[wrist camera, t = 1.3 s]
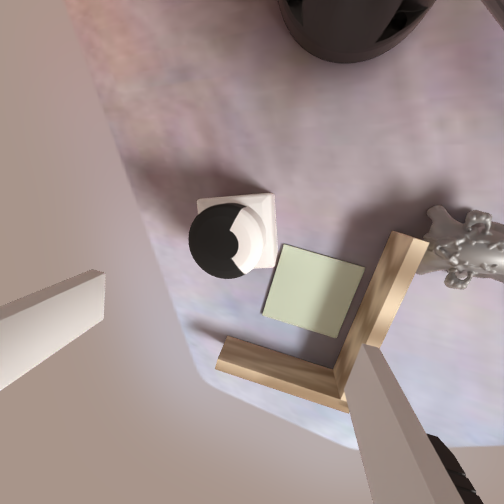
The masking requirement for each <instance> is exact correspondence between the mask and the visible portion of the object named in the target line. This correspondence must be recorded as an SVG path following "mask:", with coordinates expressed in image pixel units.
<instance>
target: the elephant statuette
mask: <svg viewBox="0 0 504 504" xmlns="http://www.w3.org/2000/svg"><path fill="white" fill-rule="evenodd" d="M427 216H428V217H429V218H431V220H432V223H433V224H432V225H431V227H430V231H429V232H428V233H427V234H425V235H424V236H423V239H424V240H426V241H427V242H429V245H428V247H427V250H426V252H425V254H424V256H423V258H422V260H421V262H420V264H419V266H418V268H417V271H416V274H419V275H423V274H426V273H430V272H434V271H440V270H447V272H449V274H448V275H447V276H446V278H445V281H444V283H445V285H446V286H447V287H449V288H453V289H465V288H467V285H468V284H469V283H470V281H471V279H472V277H477V278H492V279H494V280H497V281H500V282H503V283H504V225H503V224H500V223H496V222H492V221H491V219H492V216H491V214H489V213H484V212H482V211H478V210H473V211H470V212H469V213H468V214H467V215H466V219H465V223H463V224H462V223H460V222H458V221H456V220H455V219H453V218H452V217H451V216H450V215H449V213H448V212H447V211H446V209H445V208H444V207H443V206H440V205H436V206H433V207H431V208H429V209H428V211H427ZM466 276H467V278H466V279H464V280H461V279H459V278H464V277H466Z"/></svg>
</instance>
